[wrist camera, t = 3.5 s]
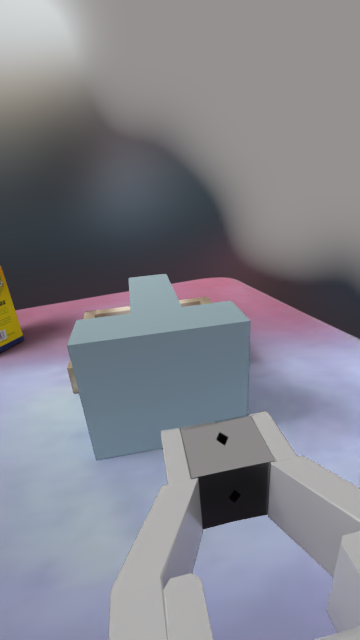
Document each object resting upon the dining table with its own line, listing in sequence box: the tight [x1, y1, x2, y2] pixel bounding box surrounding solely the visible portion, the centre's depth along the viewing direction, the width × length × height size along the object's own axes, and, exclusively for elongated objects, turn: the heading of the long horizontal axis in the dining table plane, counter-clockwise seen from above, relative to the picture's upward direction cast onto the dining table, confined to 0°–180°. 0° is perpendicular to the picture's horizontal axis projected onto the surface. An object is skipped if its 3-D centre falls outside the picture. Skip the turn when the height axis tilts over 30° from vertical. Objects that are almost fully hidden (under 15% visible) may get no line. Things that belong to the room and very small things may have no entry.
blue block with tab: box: [67, 274, 251, 460], centre depth 28 cm, size 12×14×10 cm
